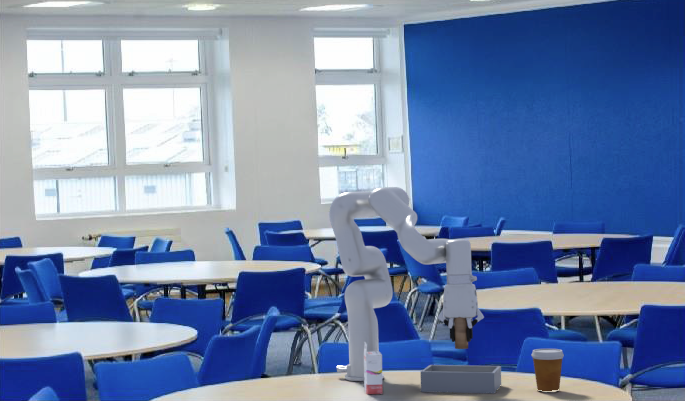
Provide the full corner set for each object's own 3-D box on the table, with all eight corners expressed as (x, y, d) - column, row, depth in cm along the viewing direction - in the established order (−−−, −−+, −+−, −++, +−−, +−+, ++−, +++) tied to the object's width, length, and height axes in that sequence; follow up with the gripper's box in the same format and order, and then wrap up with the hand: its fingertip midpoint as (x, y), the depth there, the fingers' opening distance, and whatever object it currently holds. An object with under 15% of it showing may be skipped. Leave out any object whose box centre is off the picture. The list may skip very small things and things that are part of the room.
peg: (456, 347, 369) (455, 314, 369) (469, 347, 368) (468, 314, 368) (453, 349, 365) (452, 315, 365) (467, 349, 364) (466, 315, 364)
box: (420, 391, 363) (420, 371, 363) (430, 384, 377) (429, 364, 377) (494, 393, 357) (494, 372, 357) (501, 385, 371) (500, 366, 371)
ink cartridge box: (383, 394, 361) (382, 344, 361) (366, 394, 361) (365, 345, 361) (380, 389, 370) (379, 340, 369) (364, 390, 369) (362, 341, 369)
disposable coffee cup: (545, 395, 353) (544, 353, 353) (525, 390, 361) (524, 350, 361) (571, 391, 357) (570, 350, 357) (551, 387, 366) (550, 347, 366)
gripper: (488, 279, 368) (491, 339, 368) (434, 280, 373) (436, 339, 373) (485, 280, 361) (487, 342, 361) (429, 281, 365) (431, 342, 365)
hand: (461, 340), depth 367 cm, fingers closed on peg, 4 cm apart
